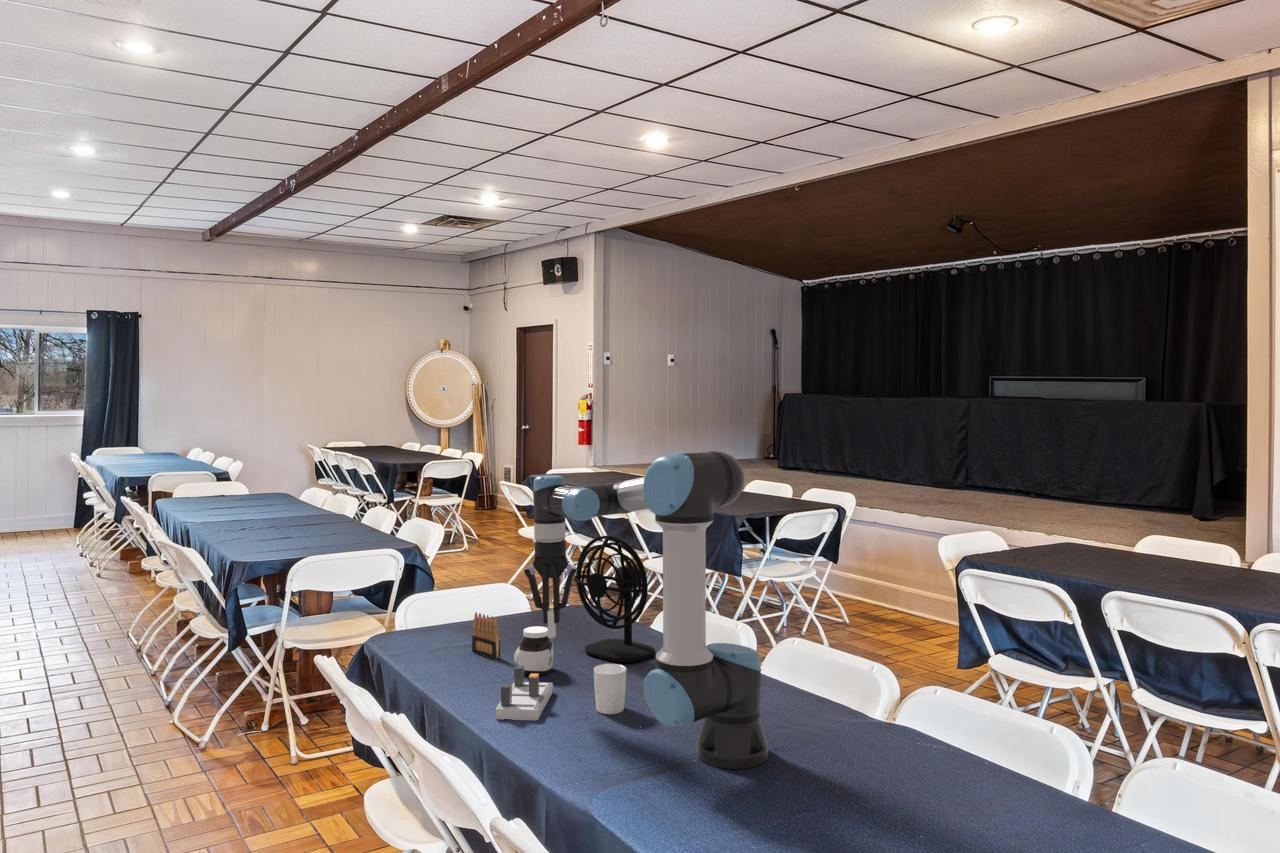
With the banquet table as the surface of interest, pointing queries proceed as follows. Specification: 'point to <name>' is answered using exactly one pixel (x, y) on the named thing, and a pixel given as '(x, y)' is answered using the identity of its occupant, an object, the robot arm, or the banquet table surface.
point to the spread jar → (535, 651)
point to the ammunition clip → (485, 636)
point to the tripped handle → (534, 684)
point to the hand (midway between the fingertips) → (552, 636)
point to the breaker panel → (525, 703)
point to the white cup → (610, 688)
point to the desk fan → (597, 587)
